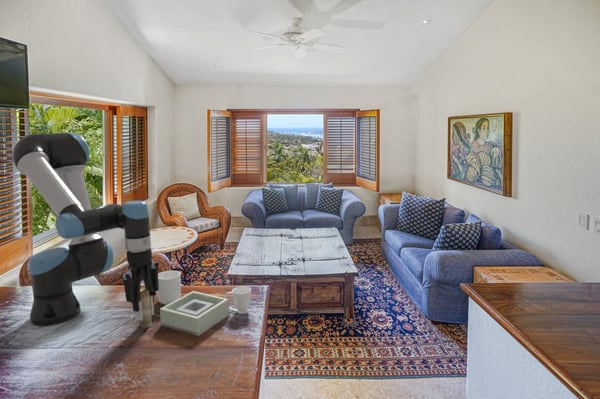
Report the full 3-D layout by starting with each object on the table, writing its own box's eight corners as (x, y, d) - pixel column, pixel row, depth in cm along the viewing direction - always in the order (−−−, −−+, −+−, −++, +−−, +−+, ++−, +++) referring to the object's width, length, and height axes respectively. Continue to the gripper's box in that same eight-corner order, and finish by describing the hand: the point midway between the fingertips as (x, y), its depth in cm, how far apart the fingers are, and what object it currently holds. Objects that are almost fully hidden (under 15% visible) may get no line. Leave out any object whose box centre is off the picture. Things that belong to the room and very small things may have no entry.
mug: (172, 293, 157) (170, 269, 155) (187, 299, 152) (185, 273, 150) (148, 303, 148) (145, 277, 147) (162, 309, 143) (160, 283, 141)
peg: (136, 326, 131) (133, 292, 129) (146, 321, 135) (143, 287, 133) (145, 329, 130) (142, 294, 127) (154, 323, 133) (151, 290, 131)
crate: (161, 325, 132) (159, 308, 131) (194, 306, 146) (193, 291, 145) (198, 336, 125) (197, 318, 124) (229, 315, 139) (228, 298, 138)
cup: (250, 315, 138) (249, 294, 136) (222, 315, 139) (221, 293, 137) (254, 306, 145) (253, 286, 143) (227, 306, 145) (226, 285, 144)
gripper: (124, 258, 118) (131, 330, 123) (167, 243, 133) (172, 308, 137) (108, 254, 122) (115, 325, 126) (151, 240, 137) (156, 304, 141)
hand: (144, 316), depth 132 cm, fingers closed on peg, 4 cm apart
